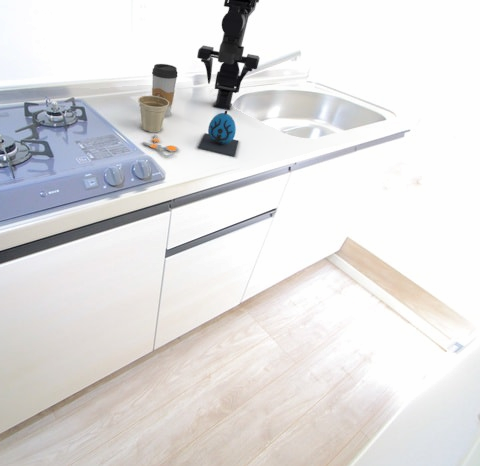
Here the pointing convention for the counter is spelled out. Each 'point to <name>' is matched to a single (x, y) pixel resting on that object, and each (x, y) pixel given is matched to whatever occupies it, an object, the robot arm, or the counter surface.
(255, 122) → the counter surface
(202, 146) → the mat
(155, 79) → the coffee cup
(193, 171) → the counter surface
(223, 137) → the ornament
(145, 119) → the flower pot
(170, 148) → the key chain
